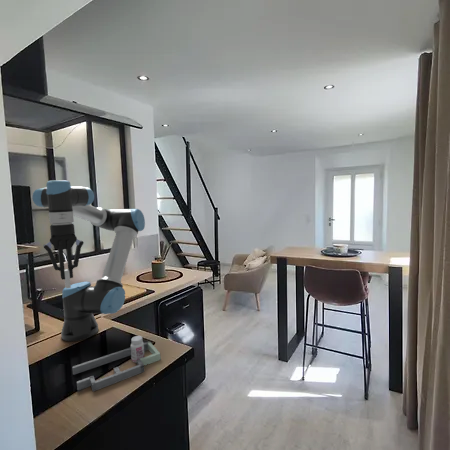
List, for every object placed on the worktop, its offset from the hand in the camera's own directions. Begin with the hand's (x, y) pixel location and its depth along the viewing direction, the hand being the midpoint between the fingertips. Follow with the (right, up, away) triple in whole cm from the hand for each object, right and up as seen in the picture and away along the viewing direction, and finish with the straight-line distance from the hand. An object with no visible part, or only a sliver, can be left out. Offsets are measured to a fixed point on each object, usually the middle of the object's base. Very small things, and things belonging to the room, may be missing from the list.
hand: (67, 287), depth 104 cm
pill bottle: (+25, -29, +4) cm, 38 cm away
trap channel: (+20, -29, -2) cm, 35 cm away
